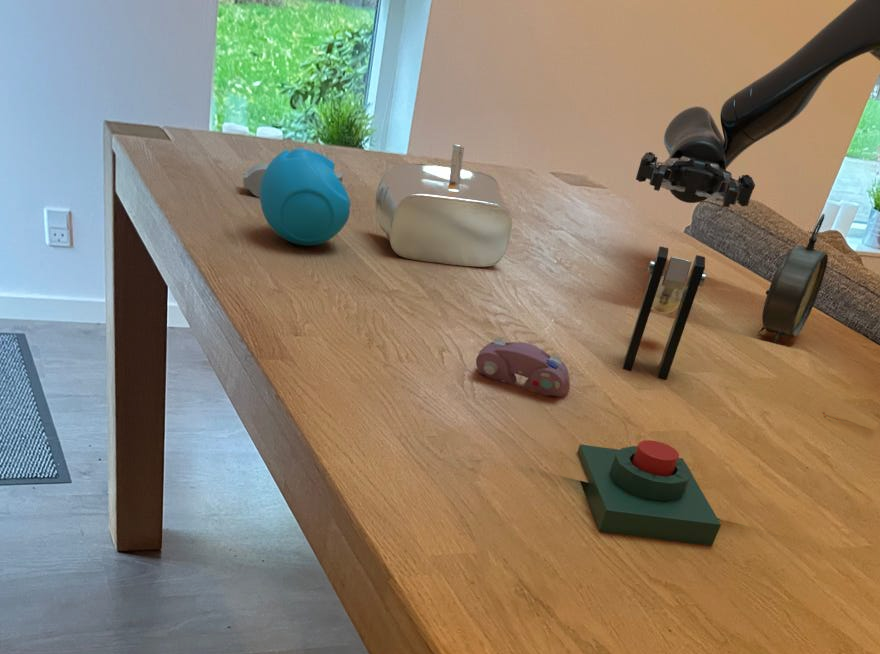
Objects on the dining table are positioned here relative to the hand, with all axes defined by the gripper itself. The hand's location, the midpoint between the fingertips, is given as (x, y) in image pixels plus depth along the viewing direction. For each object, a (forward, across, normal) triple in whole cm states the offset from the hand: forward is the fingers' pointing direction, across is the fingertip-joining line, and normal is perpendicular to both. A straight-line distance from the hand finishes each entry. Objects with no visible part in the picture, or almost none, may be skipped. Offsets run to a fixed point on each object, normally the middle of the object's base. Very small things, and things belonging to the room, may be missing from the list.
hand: (694, 189), depth 118 cm
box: (+51, +2, +17) cm, 54 cm away
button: (+51, +2, +13) cm, 53 cm away
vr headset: (-10, -31, +17) cm, 37 cm away
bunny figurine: (-19, -56, +17) cm, 62 cm away
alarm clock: (-8, +17, +17) cm, 25 cm away
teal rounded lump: (+2, -48, +17) cm, 51 cm away
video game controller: (+34, -12, +17) cm, 40 cm away
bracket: (+20, 0, +17) cm, 26 cm away
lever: (+16, 0, +9) cm, 19 cm away
